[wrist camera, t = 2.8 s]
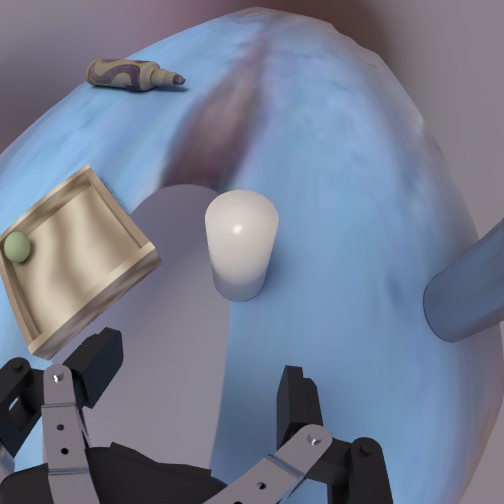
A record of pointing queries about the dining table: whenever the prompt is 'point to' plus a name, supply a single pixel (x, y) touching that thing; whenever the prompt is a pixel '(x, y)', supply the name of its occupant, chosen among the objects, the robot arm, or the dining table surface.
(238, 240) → the white dome-topped cylinder
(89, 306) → the tray
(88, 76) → the decorative bottle
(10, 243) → the green ball
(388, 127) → the dining table surface
